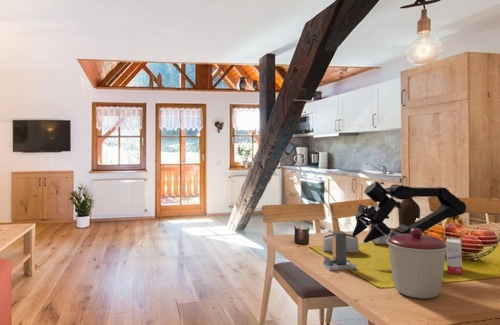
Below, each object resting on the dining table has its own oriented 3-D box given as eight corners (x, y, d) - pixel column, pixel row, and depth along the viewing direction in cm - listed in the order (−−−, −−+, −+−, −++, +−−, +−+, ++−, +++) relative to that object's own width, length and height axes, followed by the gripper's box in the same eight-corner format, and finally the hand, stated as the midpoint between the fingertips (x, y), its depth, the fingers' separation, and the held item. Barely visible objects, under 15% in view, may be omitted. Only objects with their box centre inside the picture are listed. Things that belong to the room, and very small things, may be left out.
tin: (401, 244, 169) (401, 227, 169) (402, 246, 166) (402, 229, 166) (369, 243, 173) (369, 226, 173) (369, 244, 170) (369, 227, 170)
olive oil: (407, 241, 175) (406, 192, 174) (393, 236, 185) (393, 190, 185) (424, 239, 177) (424, 192, 177) (410, 235, 188) (410, 190, 187)
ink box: (462, 275, 126) (462, 243, 126) (446, 273, 128) (446, 241, 128) (461, 268, 133) (461, 238, 133) (446, 266, 136) (446, 236, 136)
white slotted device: (357, 249, 161) (358, 231, 158) (359, 255, 157) (360, 237, 154) (321, 248, 164) (322, 230, 161) (322, 254, 160) (322, 236, 156)
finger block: (342, 262, 139) (342, 231, 139) (346, 265, 135) (346, 233, 135) (332, 263, 138) (332, 231, 138) (336, 266, 134) (335, 233, 134)
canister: (377, 283, 119) (376, 223, 119) (426, 281, 120) (426, 221, 120) (404, 306, 101) (403, 235, 101) (462, 303, 102) (462, 233, 102)
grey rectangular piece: (349, 263, 141) (349, 255, 140) (356, 268, 134) (355, 260, 134) (323, 265, 139) (323, 256, 139) (329, 270, 133) (329, 261, 133)
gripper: (358, 193, 147) (335, 220, 146) (382, 201, 128) (356, 232, 127) (375, 209, 149) (352, 237, 148) (401, 219, 130) (375, 251, 129)
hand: (358, 238), depth 138 cm, fingers open, 9 cm apart
